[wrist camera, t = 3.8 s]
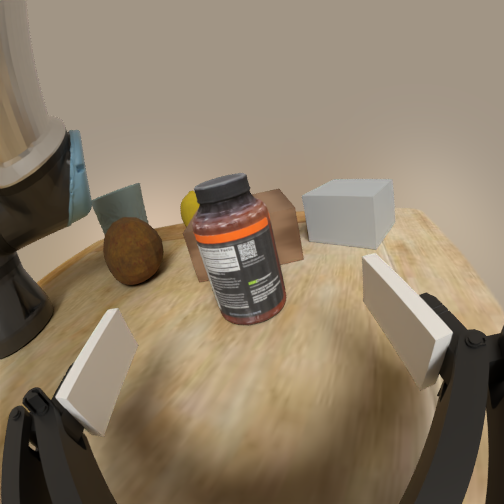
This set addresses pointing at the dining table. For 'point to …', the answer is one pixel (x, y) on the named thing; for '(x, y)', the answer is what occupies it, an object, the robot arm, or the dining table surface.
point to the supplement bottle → (238, 250)
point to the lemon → (189, 207)
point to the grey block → (350, 212)
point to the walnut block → (281, 224)
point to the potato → (132, 250)
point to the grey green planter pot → (119, 206)
